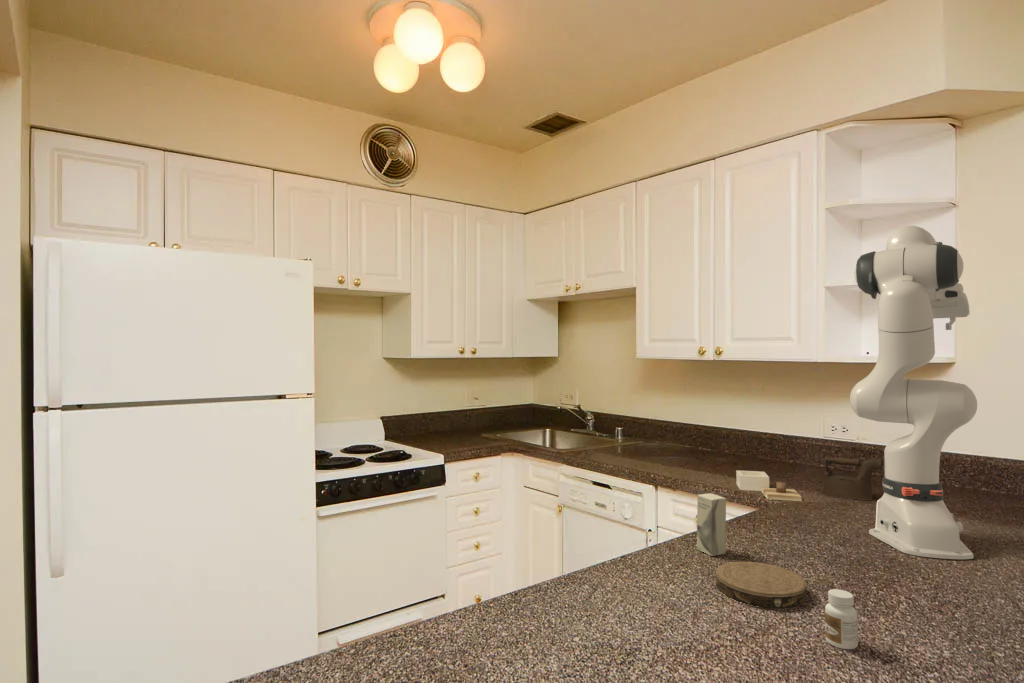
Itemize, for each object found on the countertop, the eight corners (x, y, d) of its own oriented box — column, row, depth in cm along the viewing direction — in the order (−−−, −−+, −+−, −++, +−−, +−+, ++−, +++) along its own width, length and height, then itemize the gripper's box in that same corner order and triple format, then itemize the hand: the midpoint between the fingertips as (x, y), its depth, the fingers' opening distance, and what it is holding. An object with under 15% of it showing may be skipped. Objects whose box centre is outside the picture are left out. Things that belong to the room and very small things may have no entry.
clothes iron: (880, 504, 171) (880, 459, 171) (821, 496, 181) (821, 454, 181) (884, 499, 177) (883, 456, 177) (826, 491, 187) (826, 450, 187)
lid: (801, 500, 174) (801, 486, 174) (767, 498, 176) (767, 485, 176) (794, 493, 183) (794, 480, 183) (762, 491, 185) (762, 478, 185)
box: (696, 549, 131) (695, 494, 132) (710, 547, 133) (710, 492, 133) (712, 557, 126) (711, 499, 127) (727, 554, 128) (726, 497, 128)
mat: (802, 502, 173) (802, 500, 173) (767, 500, 176) (767, 498, 176) (794, 494, 183) (794, 493, 183) (761, 492, 185) (761, 491, 185)
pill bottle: (819, 636, 91) (818, 587, 91) (845, 635, 91) (845, 587, 91) (836, 650, 87) (835, 599, 87) (864, 649, 87) (863, 599, 87)
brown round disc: (702, 577, 116) (702, 562, 116) (777, 575, 117) (777, 560, 117) (739, 612, 100) (739, 595, 100) (825, 609, 101) (825, 592, 101)
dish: (769, 492, 185) (769, 477, 185) (740, 490, 188) (739, 475, 188) (764, 486, 194) (764, 471, 194) (736, 484, 196) (736, 470, 196)
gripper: (887, 297, 183) (891, 335, 187) (968, 291, 170) (970, 332, 174) (888, 289, 187) (892, 327, 192) (968, 283, 174) (970, 324, 179)
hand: (930, 329), depth 183 cm, fingers open, 8 cm apart
